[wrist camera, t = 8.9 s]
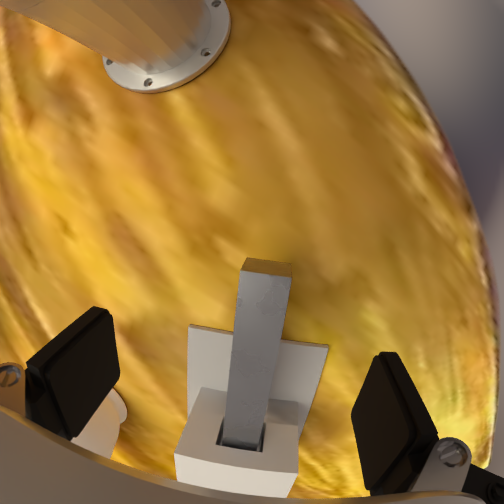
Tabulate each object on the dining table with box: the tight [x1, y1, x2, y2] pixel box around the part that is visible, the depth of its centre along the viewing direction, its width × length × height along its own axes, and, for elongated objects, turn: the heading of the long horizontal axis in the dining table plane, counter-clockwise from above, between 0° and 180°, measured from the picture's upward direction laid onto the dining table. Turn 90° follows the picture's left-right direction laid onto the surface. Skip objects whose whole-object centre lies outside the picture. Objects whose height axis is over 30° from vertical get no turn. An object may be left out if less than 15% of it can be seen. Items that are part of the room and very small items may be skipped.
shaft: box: [222, 257, 292, 451], centre depth 21 cm, size 20×3×3 cm, turn 173°
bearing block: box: [174, 324, 329, 498], centre depth 24 cm, size 20×13×10 cm, turn 173°
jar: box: [71, 388, 127, 459], centre depth 24 cm, size 11×10×15 cm
